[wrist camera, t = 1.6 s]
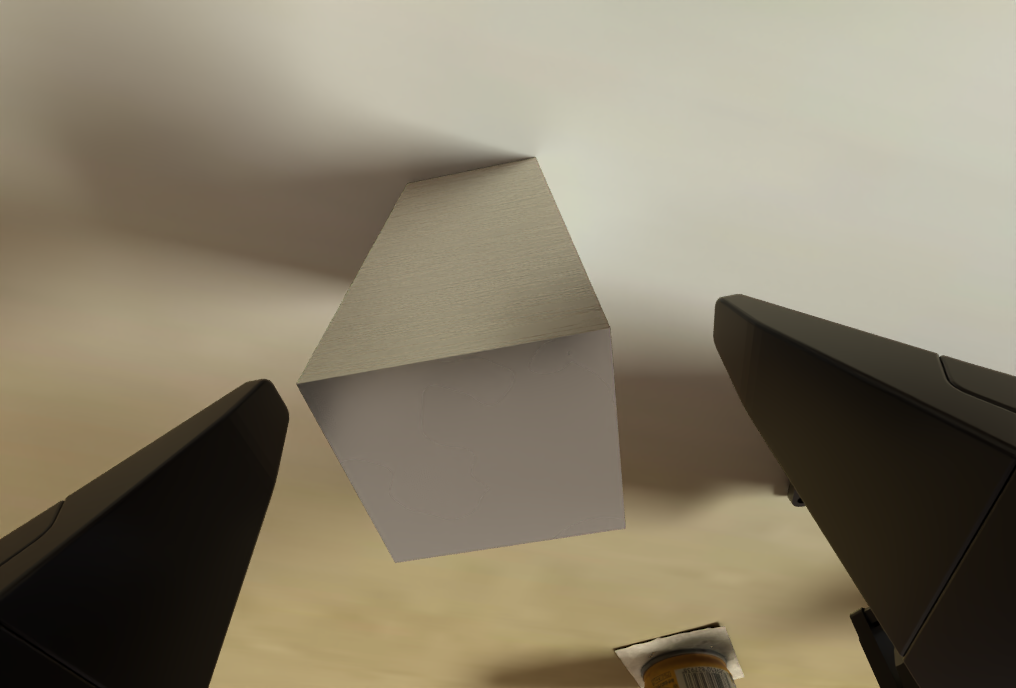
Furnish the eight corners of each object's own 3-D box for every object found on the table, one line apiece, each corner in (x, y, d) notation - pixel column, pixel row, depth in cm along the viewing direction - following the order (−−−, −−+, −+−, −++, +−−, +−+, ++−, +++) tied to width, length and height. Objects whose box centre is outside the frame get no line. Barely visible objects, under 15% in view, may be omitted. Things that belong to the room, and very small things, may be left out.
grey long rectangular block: (553, 276, 16) (625, 528, 8) (441, 297, 16) (394, 562, 8) (535, 157, 14) (610, 328, 6) (407, 183, 14) (296, 384, 6)
